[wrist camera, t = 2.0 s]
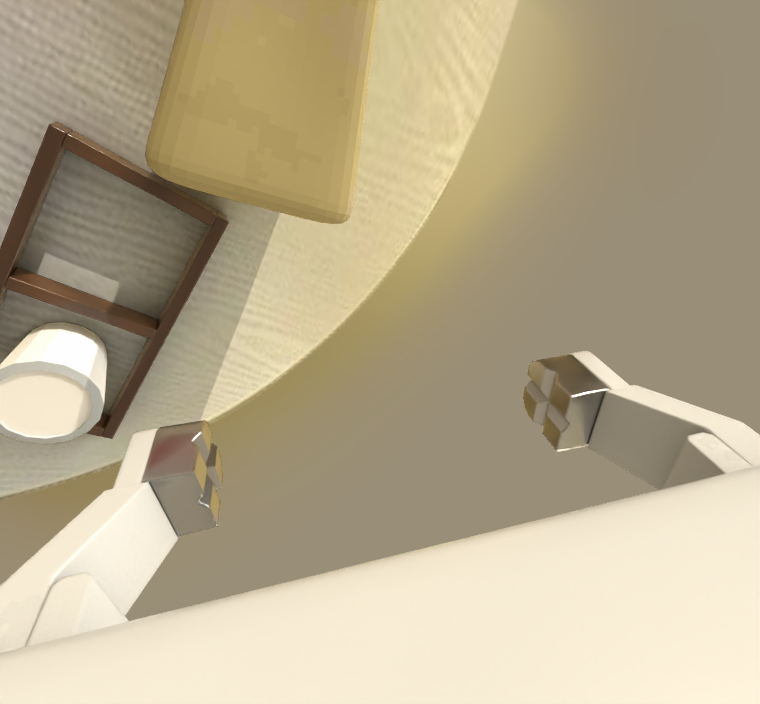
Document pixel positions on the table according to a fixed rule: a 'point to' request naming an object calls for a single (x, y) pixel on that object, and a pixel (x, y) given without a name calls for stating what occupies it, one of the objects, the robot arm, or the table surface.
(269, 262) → the table surface
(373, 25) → the cheese
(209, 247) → the holder
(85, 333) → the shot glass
